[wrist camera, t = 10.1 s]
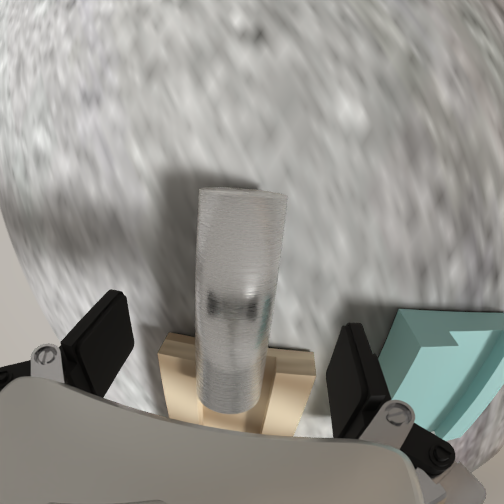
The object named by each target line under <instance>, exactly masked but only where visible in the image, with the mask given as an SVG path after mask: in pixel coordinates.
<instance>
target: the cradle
mask: <svg viewBox="0 0 504 504" xmlns="http://www.w3.org/2000/svg"><path fill="white" fill-rule="evenodd" d="M378 360H379V363H380V366H381V369H382V372H383V375H384V378H385V381H386V384H387V387H388V390H389V393H390V396H391V399H392V400H401V401H404V402H406V403H407V404H409V405H410V406H411V407H412V409H413V410H414V413H415V421H414V423H416V424H418V425H419V426H421V427H422V428H424V429H426V430H428V431H429V432H432V431H435V434H436V436H438V437H439V438H441V439H443V440H445V441H448V440H451V439H455V438H459V437H461V436H462V435H463V434H464V433H465V432H466V431H467V429H468V428H469V427H470V426H471V425H472V424H473V423H474V421H475V420H476V419H477V418H478V417H479V416H480V414H481V413H482V412H483V411H484V409H485V408H486V407H487V406H488V404H489V403H490V402H491V400H492V399H493V398H494V397H495V395H496V394H497V392H498V391H499V390H500V388H501V387H502V385H503V384H504V313H482V312H450V311H429V310H411V309H398V312H397V315H396V317H395V320H394V322H393V325H392V328H391V330H390V332H389V335H388V337H387V340H386V342H385V344H384V347H383V349H382V351H381V353H380V356H379V358H378Z"/></svg>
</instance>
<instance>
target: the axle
mask: <svg viewBox="0 0 504 504" xmlns="http://www.w3.org/2000/svg"><path fill="white" fill-rule="evenodd" d="M287 199H288V196H287V195H284V194H280V193H276V192H270V191H263V190H256V189H246V188H231V187H206V188H200V189H199V200H198V218H197V241H196V273H195V359H196V390H197V396H198V398H199V400H200V401H201V403H202V404H203V405H204V406H206V407H207V408H209V409H210V410H213V411H215V412H218V413H222V414H238V413H242V412H245V411H248V410H250V409H251V408H253V407H254V406H255V405H256V404H257V402H258V401H259V398H260V394H261V388H262V381H263V375H264V369H265V363H266V356H267V350H268V343H269V337H270V330H271V323H272V316H273V309H274V302H275V295H276V288H277V281H278V273H279V265H280V258H281V250H282V242H283V234H284V225H285V217H286V208H287Z"/></svg>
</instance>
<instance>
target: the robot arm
mask: <svg viewBox="0 0 504 504" xmlns="http://www.w3.org/2000/svg"><path fill="white" fill-rule="evenodd" d="M60 343H61V346H60V347H59V348H58V347H57V346H56V345H54V344H43V345H40V346H39V347H37V348H36V349H35V350H34V351H33V352H32V355H31V360H29V361H25V362H21V363H17V364H13V365H8V366H4V367H1V368H0V504H483V502H484V500H485V498H486V490H485V488H484V486H483V485H482V484H481V483H480V482H479V481H478V479H477V478H475V476H474V475H473V474H472V473H471V472H470V471H469V470H468V469H467V468H466V467H465V466H464V465H463V464H462V463H461V462H460V461H459V462H458V463H457V462H456V461H455V451H454V449H453V447H452V446H451V445H450V444H449V443H448V442H446V441H445V440H443V439H441V438H439V437H438V436H436V435H434V434H433V433H431V432H429V431H428V430H426V429H424V428H422V427H421V426H419V425H418V424H416V423H414V421H415V413H414V410H413V409H412V407H411V406H410V405H409V404H407V403H406V402H404V401H401V400H392V399H391V396H390V393H389V390H388V387H387V384H386V381H385V378H384V375H383V372H382V369H381V366H380V363H379V360H378V358H377V356H376V355H375V354H372V351H371V349H370V346H369V343H368V340H367V337H366V335H365V332H364V329H363V326H362V324H361V323H347V325H346V326H342V328H341V332H340V335H339V338H338V340H337V343H336V346H335V349H334V352H333V355H332V358H331V360H330V363H329V366H328V369H327V372H326V380H327V388H328V395H329V403H330V412H331V420H332V429H333V438H311V437H292V436H278V435H266V434H256V433H248V432H240V431H233V430H227V429H220V428H214V427H209V426H204V425H198V424H194V423H189V422H184V421H180V420H175V419H171V418H167V417H163V416H160V415H156V414H152V413H148V412H145V411H141V410H138V409H135V408H132V407H128V406H125V405H122V404H119V403H116V402H113V401H110V400H107V399H105V398H103V397H104V396H105V394H106V392H107V391H108V389H109V387H110V386H111V384H112V382H113V381H114V379H115V377H116V376H117V374H118V372H119V371H120V369H121V367H122V366H123V364H124V362H125V361H126V359H127V358H128V356H129V354H130V353H131V351H132V349H133V347H134V338H133V333H132V327H131V322H130V316H129V310H128V304H127V298H126V296H125V295H124V294H123V292H121V291H117V290H112V289H111V290H109V291H108V292H107V293H106V294H105V295H104V296H103V297H102V298H101V299H100V300H99V301H98V302H97V303H96V304H95V305H94V306H93V307H92V308H91V309H90V310H89V312H88V313H87V314H86V315H85V316H84V317H83V318H82V319H81V320H80V321H79V322H78V323H77V324H76V326H75V327H74V328H73V329H72V330H71V331H70V332H69V333H68V334H67V336H66V337H65V338H64V339H63V340H62V341H61V342H60Z"/></svg>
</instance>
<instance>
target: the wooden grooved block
mask: <svg viewBox="0 0 504 504" xmlns="http://www.w3.org/2000/svg"><path fill="white" fill-rule="evenodd" d="M158 360H159V366H160V372H161V378H162V384H163V389H164V395H165V400H166V405H167V410H168V414H169V418H171V419H175V420H180V421H184V422H189V423H194V424H198V425H204V426H209V427H214V428H220V429H227V430H233V431H240V432H248V433H256V434H266V435H278V436H292V437H293V435H294V433H295V431H296V428H297V426H298V423H299V421H300V418H301V416H302V413H303V411H304V408H305V405H306V403H307V400H308V397H309V395H310V392H311V389H312V387H313V384H314V381H315V378H316V369H315V360H314V352H304V351H293V350H283V349H273V348H268V350H267V356H266V363H265V369H264V375H263V381H262V388H261V394H260V398H259V401H258V402H257V404H256V405H255V406H254V407H253V408H251V409H250V410H248V411H245V412H242V413H238V414H222V413H218V412H215V411H213V410H210V409H209V408H207V407H206V406H204V405H203V404H202V403H201V401H200V400H199V398H198V396H197V390H196V359H195V337H191V336H186V335H180V334H175V333H170V332H169V333H168V335H167V337H166V338H165V340H164V342H163V344H162V346H161V347H160V349H159V351H158Z"/></svg>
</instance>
